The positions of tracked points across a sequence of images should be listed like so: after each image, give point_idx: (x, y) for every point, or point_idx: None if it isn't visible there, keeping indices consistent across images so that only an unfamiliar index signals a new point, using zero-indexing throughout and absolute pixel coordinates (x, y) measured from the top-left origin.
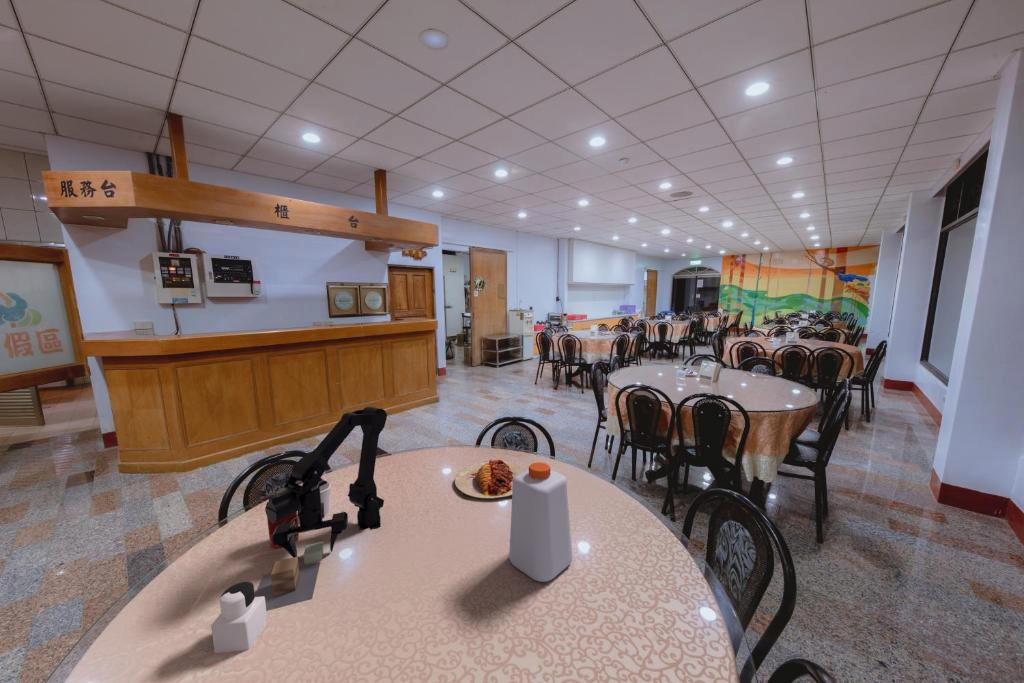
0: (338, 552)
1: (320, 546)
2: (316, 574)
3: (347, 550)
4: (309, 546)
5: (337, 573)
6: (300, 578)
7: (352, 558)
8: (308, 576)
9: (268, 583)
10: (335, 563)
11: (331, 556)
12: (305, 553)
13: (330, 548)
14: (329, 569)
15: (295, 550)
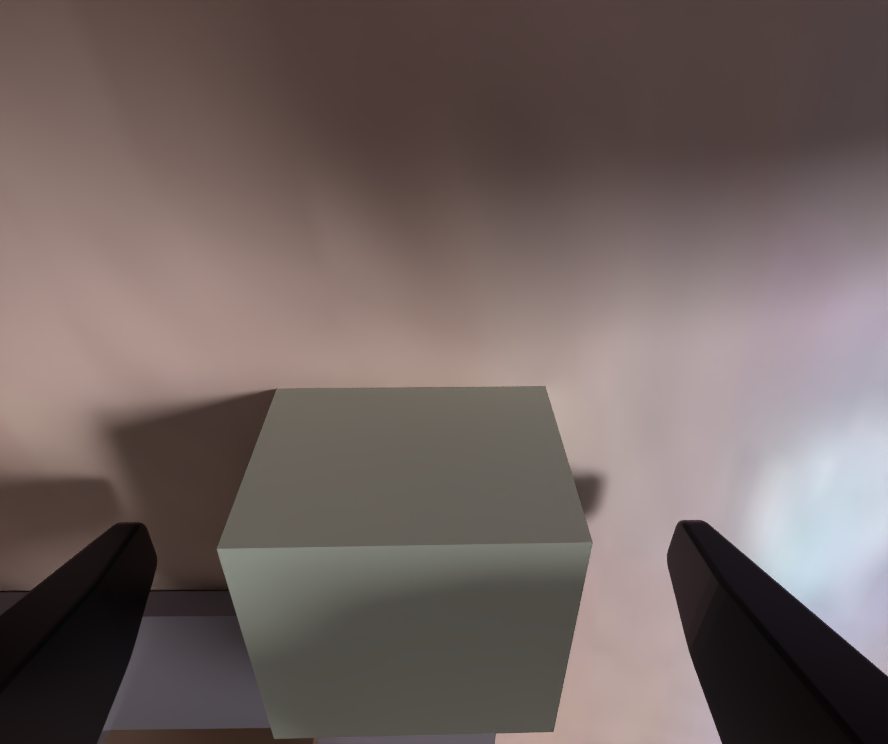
0: (752, 468)
1: (538, 647)
2: (483, 736)
3: (880, 469)
4: (311, 595)
5: (670, 724)
6: (332, 737)
7: (870, 611)
8: (408, 739)
9: None
10: (675, 624)
11: (647, 512)
12: (296, 719)
13: (693, 654)
14: (604, 673)
15: (62, 704)
